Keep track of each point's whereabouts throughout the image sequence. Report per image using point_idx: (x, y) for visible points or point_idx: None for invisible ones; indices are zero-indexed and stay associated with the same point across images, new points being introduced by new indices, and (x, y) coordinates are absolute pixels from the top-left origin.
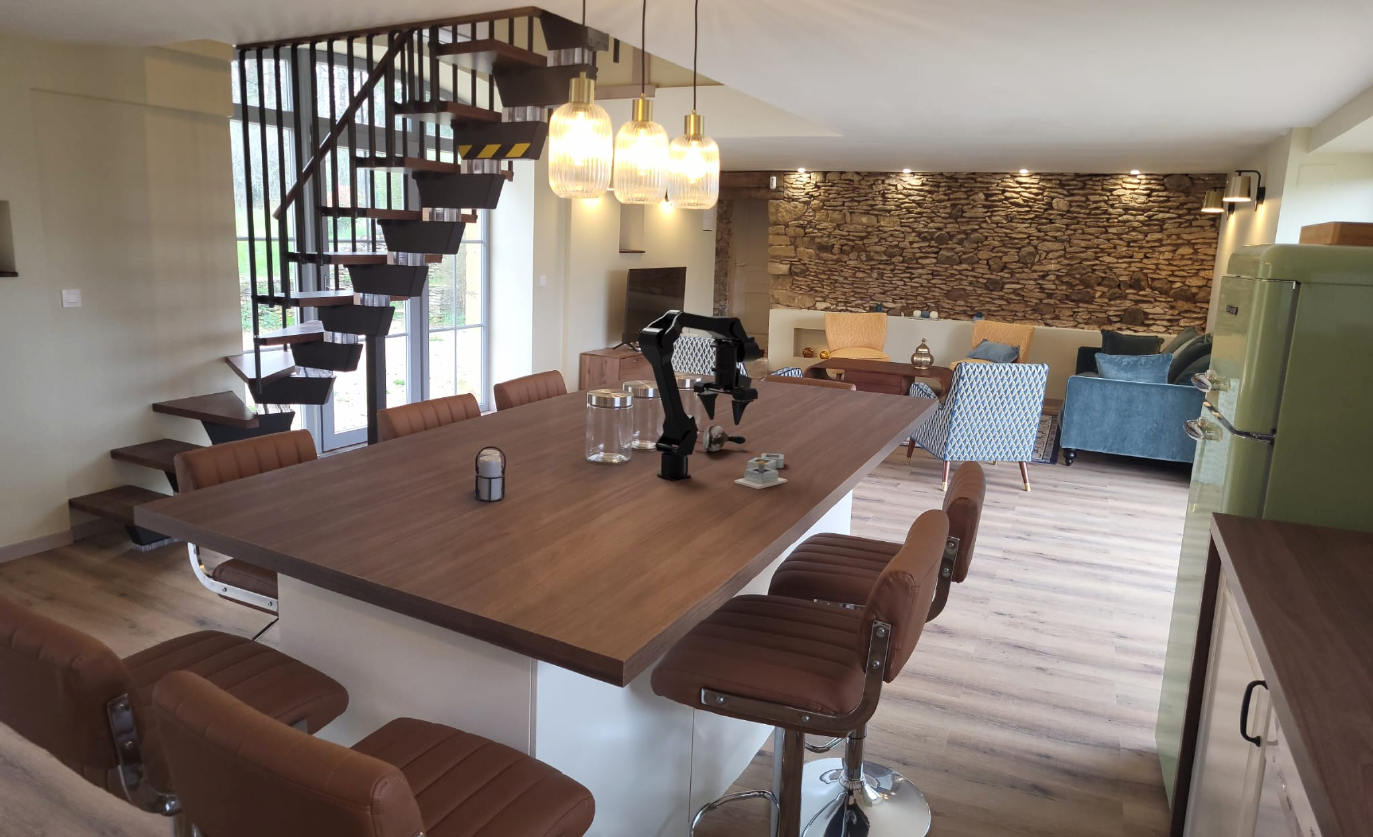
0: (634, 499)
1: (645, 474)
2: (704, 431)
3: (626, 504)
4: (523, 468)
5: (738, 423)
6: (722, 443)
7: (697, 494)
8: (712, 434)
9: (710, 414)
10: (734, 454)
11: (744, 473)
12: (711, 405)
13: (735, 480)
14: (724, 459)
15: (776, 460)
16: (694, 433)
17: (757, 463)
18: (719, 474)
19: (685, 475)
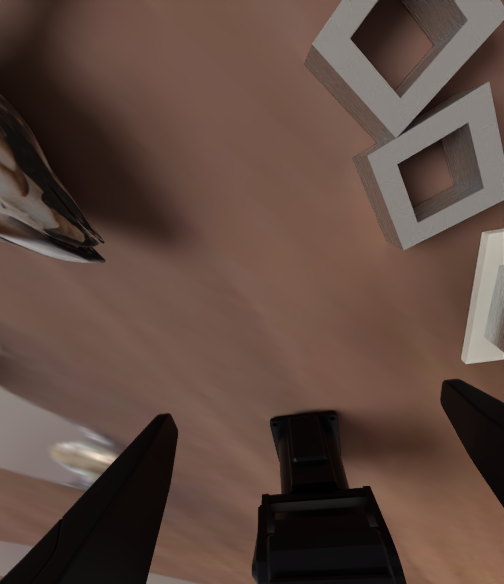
0: (398, 536)
1: (252, 464)
2: None
3: (412, 550)
4: None
5: (469, 391)
6: (14, 114)
7: (462, 464)
8: (30, 223)
9: (165, 481)
10: (107, 90)
11: (500, 348)
12: (107, 581)
13: (469, 362)
14: (184, 202)
15: (487, 85)
16: (404, 580)
17: (452, 225)
18: (358, 341)
19: (333, 428)
